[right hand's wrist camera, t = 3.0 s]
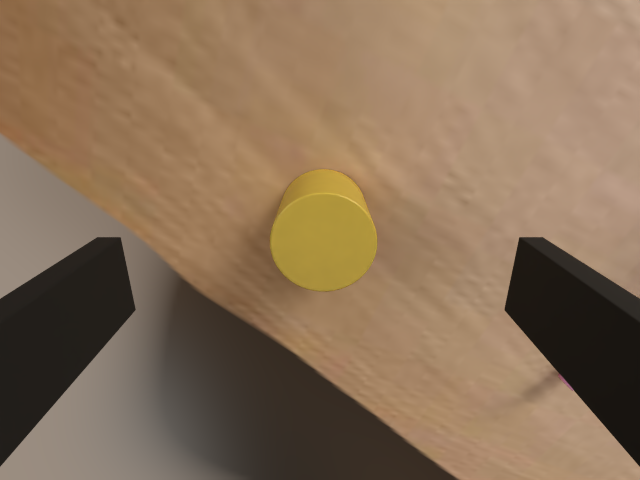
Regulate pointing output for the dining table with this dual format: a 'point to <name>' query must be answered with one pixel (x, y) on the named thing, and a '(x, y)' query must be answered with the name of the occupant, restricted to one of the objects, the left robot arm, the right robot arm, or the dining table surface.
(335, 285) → the yellow cylinder
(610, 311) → the right robot arm
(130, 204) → the dining table surface
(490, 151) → the dining table surface
